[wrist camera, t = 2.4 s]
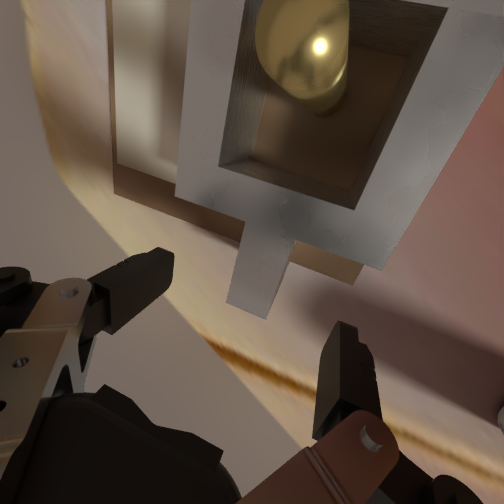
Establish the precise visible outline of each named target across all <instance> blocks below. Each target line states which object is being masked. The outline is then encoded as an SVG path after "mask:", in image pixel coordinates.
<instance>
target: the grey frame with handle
mask: <svg viewBox="0 0 504 504" xmlns="http://www.w3.org/2000/svg"><path fill="white" fill-rule="evenodd" d="M263 1H264V0H191V11H190V22H189V34H188V46H187V58H186V70H185V81H184V93H183V105H182V117H181V129H180V141H179V152H178V164H177V176H176V188H175V196H176V197H178V198H181V199H184V200H187V201H189V202H192V203H195V204H198V205H201V206H203V207H206V208H209V209H212V210H214V211H217V212H220V213H223V214H226V215H228V216H231V217H234V218H237V219H240V220H242V221H245V226H244V230H243V234H242V238H241V242H240V246H239V251H238V255H237V259H236V263H235V267H234V271H233V275H232V279H231V284H230V288H229V292H228V296H227V300H226V303H228V304H230V305H233V306H235V307H237V308H240V309H242V310H244V311H247V312H249V313H251V314H254V315H256V316H258V317H260V318H263V319H265V320H266V318H267V315H268V313H269V311H270V308H271V306H272V303H273V301H274V299H275V296H276V294H277V292H278V289H279V287H280V285H281V282H282V280H283V277H284V274H285V272H286V269H287V266H288V264H289V261H290V258H291V255H292V253H293V250H294V247H295V245H296V242H297V240H298V241H301V242H303V243H306V244H309V245H312V246H315V247H317V248H320V249H323V250H326V251H328V252H331V253H334V254H337V255H340V256H342V257H345V258H348V259H351V260H353V261H356V262H359V263H362V264H365V265H367V266H370V267H373V268H376V269H378V270H382V268H383V267H384V265H385V263H386V262H387V260H388V258H389V257H390V255H391V253H392V252H393V250H394V248H395V247H396V245H397V243H398V242H399V240H400V238H401V237H402V235H403V233H404V232H405V230H406V228H407V227H408V225H409V223H410V222H411V220H412V218H413V217H414V215H415V213H416V212H417V210H418V208H419V207H420V205H421V203H422V202H423V200H424V198H425V197H426V195H427V193H428V192H429V190H430V188H431V187H432V185H433V183H434V181H435V180H436V178H437V176H438V175H439V173H440V171H441V170H442V168H443V166H444V165H445V163H446V161H447V160H448V158H449V156H450V155H451V153H452V151H453V150H454V148H455V146H456V145H457V143H458V141H459V140H460V138H461V136H462V135H463V133H464V131H465V130H466V128H467V126H468V125H469V123H470V121H471V120H472V118H473V116H474V115H475V113H476V111H477V110H478V108H479V106H480V105H481V103H482V101H483V100H484V98H485V96H486V95H487V93H488V91H489V90H490V88H491V86H492V85H493V83H494V81H495V80H496V78H497V76H498V75H499V73H500V71H501V70H502V68H503V66H504V0H348V2H349V39H348V45H351V46H356V47H361V48H366V49H371V50H376V51H381V52H386V53H391V54H396V55H401V56H406V57H409V59H408V61H407V63H406V65H405V68H404V70H403V72H402V74H401V77H400V79H399V81H398V84H397V86H396V88H395V90H394V93H393V95H392V97H391V100H390V102H389V104H388V106H387V109H386V111H385V113H384V115H383V118H382V120H381V122H380V125H379V127H378V129H377V131H376V134H375V136H374V138H373V140H372V143H371V145H370V147H369V150H368V152H367V154H366V156H365V159H364V161H363V163H362V165H361V168H360V170H359V172H358V175H357V177H356V179H355V181H354V184H353V186H352V188H351V191H350V190H347V189H344V188H341V187H337V186H334V185H331V184H328V183H324V182H321V181H318V180H315V179H311V178H308V177H305V176H302V175H298V174H295V173H292V172H289V171H286V170H282V169H279V168H276V167H273V166H269V165H266V164H263V163H260V162H256V161H253V160H251V158H252V153H253V149H254V144H255V140H256V135H257V131H258V126H259V122H260V117H261V113H262V108H263V104H264V100H265V95H266V91H267V86H268V82H269V77H270V76H269V75H268V74H267V73H266V72H265V70H264V69H263V67H262V65H261V63H260V61H259V58H258V55H257V51H256V44H255V29H256V22H257V18H258V14H259V11H260V8H261V5H262V3H263Z"/></svg>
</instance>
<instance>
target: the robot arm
mask: <svg viewBox="0 0 504 504" xmlns="http://www.w3.org/2000/svg"><path fill="white" fill-rule="evenodd" d="M173 267H174V253H172V252H170V251H167V250H165V249H162V248H160V247H157V248H155V249H153V250H151V251H150V252H148V253H141V254H137V255H133V256H131V257H129V258H127V259H125V260H124V261H122V262H120V263H118V264H117V265H116V266H115V265H114V266H112V267H110V268H108V269H106V270H104V271H102V272H100V273H99V274H97V275H95V276H93V277H91V278H89V279H87V280H85V279H82V278H66V279H62V280H58V281H56V282H54V283H52V284H46V283H40V282H33V281H32V279H31V275H30V272H29V271H28V270H27V269H25V268H21V267H2V268H0V504H483V503H482V501H481V500H480V499H479V498H478V497H477V496H476V494H475V493H474V492H473V491H472V490H470V489H469V488H468V487H467V486H466V485H465V484H463V483H462V482H461V481H459V480H457V479H456V478H454V477H451V476H448V475H439V476H437V477H436V478H434V479H433V478H431V477H430V476H429V475H428V474H426V473H425V472H424V471H423V470H422V469H420V468H419V467H418V466H417V465H415V464H414V463H413V462H412V461H410V460H409V459H408V458H407V457H406V456H405V455H403V453H402V452H401V451H400V450H399V448H398V444H397V441H396V439H395V437H394V435H393V433H392V432H391V430H390V429H389V427H388V426H387V425H386V424H385V423H384V422H383V419H382V413H381V406H380V399H379V393H378V386H377V381H376V373H375V371H374V369H375V366H374V360H373V356H372V354H371V352H370V351H369V349H368V347H367V345H365V344H363V343H360V342H359V340H358V330H357V328H356V327H354V326H351V325H349V324H347V323H344V322H342V321H337V323H336V324H335V326H334V328H333V330H332V332H331V334H330V335H329V337H328V339H327V341H326V343H325V345H324V347H323V350H322V353H321V357H320V364H319V374H318V384H317V394H316V404H315V414H314V424H313V434H312V438H313V439H315V440H317V441H318V442H317V443H315V444H314V445H313V446H311V447H310V448H309V446H307V447H305V448H304V449H302V450H301V451H300V452H298V453H297V454H296V455H295V456H293V457H292V458H291V459H290V460H289V461H287V462H286V463H285V464H283V465H282V466H281V467H280V468H279V469H278V470H276V471H275V472H274V473H272V474H271V475H270V476H269V477H268V478H266V479H265V480H264V481H263V482H262V483H260V484H259V485H258V486H256V487H255V488H254V489H253V490H252V491H250V492H249V493H248V494H247V495H245V496H244V497H243V498H242V497H241V494H240V492H239V490H238V487H237V485H236V484H235V482H234V480H233V478H232V477H231V475H230V474H229V472H228V471H227V469H226V468H225V467H224V466H223V465H222V464H221V463H220V460H221V457H222V454H223V450H221V449H220V448H218V447H216V446H214V445H212V444H211V443H209V442H207V441H205V440H204V439H202V438H200V437H198V436H196V435H195V434H193V433H189V432H184V431H180V430H175V429H170V428H166V427H160V426H157V425H155V424H153V423H152V422H151V421H150V420H149V418H148V417H147V416H146V415H145V414H144V413H143V412H142V410H141V409H140V408H139V407H138V406H137V405H136V404H135V403H134V402H133V400H132V399H130V398H128V397H127V396H125V395H123V394H121V393H120V392H118V391H116V390H114V389H112V388H111V387H109V386H107V385H105V384H104V385H103V386H102V387H101V388H100V389H99V390H98V391H97V392H96V393H87V392H84V387H85V380H86V376H87V372H88V368H89V365H90V361H91V357H92V354H93V350H94V346H95V343H96V338H97V337H96V334H98V333H99V332H100V331H102V330H103V331H105V332H107V333H109V334H111V335H113V334H114V333H115V332H116V331H118V330H119V329H120V328H121V327H122V326H124V325H125V324H126V323H127V322H129V321H130V320H131V319H132V318H134V317H135V316H136V315H137V314H138V313H140V312H141V311H142V310H143V309H144V308H146V307H147V306H148V305H149V304H151V303H152V302H153V301H154V300H155V299H156V298H158V297H159V296H160V295H162V294H163V293H164V292H165V291H166V290H167V289H168V288H169V286H170V285H171V282H172V277H173Z"/></svg>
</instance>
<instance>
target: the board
mask: <svg viewBox="0 0 504 504" xmlns="http://www.w3.org/2000/svg"><path fill="white" fill-rule="evenodd" d="M106 1H107V26H108V51H109V77H110V102H111V128H112V153H113V178H114V194H116V195H119V196H122V197H124V198H127V199H129V200H132V201H135V202H137V203H140V204H142V205H145V206H148V207H150V208H153V209H155V210H158V211H161V212H163V213H166V214H168V215H171V216H174V217H176V218H179V219H181V220H184V221H187V222H189V223H192V224H194V225H197V226H200V227H202V228H205V229H207V230H210V231H213V232H215V233H218V234H220V235H223V236H226V237H228V238H231V239H233V240H236V241H239V242H241V238H242V234H243V230H244V226H245V221H242V220H240V219H237V218H234V217H231V216H228V215H226V214H223V213H220V212H217V211H214V210H212V209H209V208H206V207H203V206H201V205H198V204H195V203H192V202H189V201H187V200H184V199H181V198H178V197H176V196H175V188H176V176H177V164H178V152H179V141H180V129H181V117H182V105H183V93H184V81H185V70H186V58H187V46H188V34H189V22H190V11H191V0H106ZM408 59H409V57H406V56H401V55H396V54H391V53H386V52H381V51H376V50H371V49H366V48H361V47H356V46H351V45H348V65H347V90H346V97H345V100H344V102H343V104H342V106H341V107H340V108H339V109H338V110H337V111H336V112H335V113H334V114H332V115H330V116H327V117H317V116H315V115H313V114H312V113H310V112H309V111H308V110H307V109H306V108H305V107H304V106H303V105H301V104H300V103H299V102H298V101H297V100H296V99H295V98H293V97H292V96H291V95H290V94H289V93H288V92H287V91H286V90H284V89H283V88H282V87H281V86H280V85H279V84H278V83H276V82H275V81H274V80H273V79H272V78H271V77H269V82H268V86H267V91H266V95H265V100H264V104H263V108H262V113H261V117H260V122H259V126H258V131H257V135H256V140H255V144H254V149H253V153H252V158H251V160H253V161H256V162H260V163H263V164H266V165H269V166H273V167H276V168H279V169H282V170H286V171H289V172H292V173H295V174H298V175H302V176H305V177H308V178H311V179H315V180H318V181H321V182H324V183H328V184H331V185H334V186H337V187H341V188H344V189H347V190H350V191H351V188H352V186H353V184H354V181H355V179H356V177H357V175H358V172H359V170H360V168H361V165H362V163H363V161H364V159H365V156H366V154H367V152H368V150H369V147H370V145H371V143H372V140H373V138H374V136H375V134H376V131H377V129H378V127H379V125H380V122H381V120H382V118H383V115H384V113H385V111H386V109H387V106H388V104H389V102H390V100H391V97H392V95H393V93H394V90H395V88H396V86H397V84H398V81H399V79H400V77H401V74H402V72H403V70H404V68H405V65H406V63H407V61H408ZM290 262H293V263H296V264H298V265H301V266H303V267H306V268H309V269H311V270H314V271H316V272H319V273H322V274H324V275H327V276H329V277H332V278H335V279H337V280H340V281H342V282H345V283H348V284H350V285H353V284H354V282H355V280H356V278H357V276H358V275H359V273H360V271H361V269H362V267H363V266H364V264H362V263H359V262H356V261H353V260H351V259H348V258H345V257H342V256H340V255H337V254H334V253H331V252H328V251H326V250H323V249H320V248H317V247H315V246H312V245H309V244H306V243H303V242H301V241H298V240H297V242H296V245H295V247H294V250H293V253H292V255H291V258H290Z"/></svg>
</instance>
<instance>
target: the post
mask: <svg viewBox="0 0 504 504" xmlns="http://www.w3.org/2000/svg"><path fill="white" fill-rule="evenodd" d="M348 39H349V2H348V0H264V1H263V3H262V5H261V8H260V11H259V14H258V18H257V22H256V29H255V44H256V51H257V55H258V58H259V61H260V63H261V65H262V67H263V69H264V70H265V72H266V73H267V74H268V75H269V76H270V77H271V78H272V79H273V80H274V81H275V82H276V83H278V84H279V85H280V86H281V87H282V88H283V89H284V90H286V91H287V92H288V93H289V94H290V95H291V96H292V97H293V98H295V99H296V100H297V101H298V102H299V103H300V104H301V105H303V106H304V107H305V108H306V109H307V110H308V111H309V112H310V113H312V114H313V115H315V116H317V117H327V116H330V115H332V114H334V113H335V112H336V111H337V110H338V109H339V108H340V107H341V106H342V104H343V102H344V100H345V97H346V90H347V65H348Z"/></svg>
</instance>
